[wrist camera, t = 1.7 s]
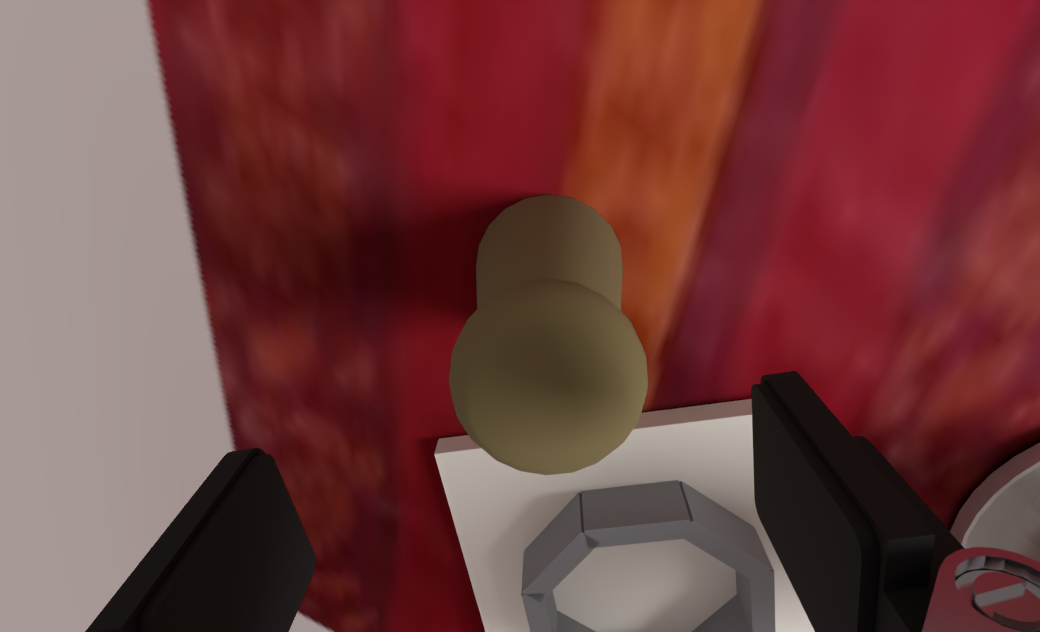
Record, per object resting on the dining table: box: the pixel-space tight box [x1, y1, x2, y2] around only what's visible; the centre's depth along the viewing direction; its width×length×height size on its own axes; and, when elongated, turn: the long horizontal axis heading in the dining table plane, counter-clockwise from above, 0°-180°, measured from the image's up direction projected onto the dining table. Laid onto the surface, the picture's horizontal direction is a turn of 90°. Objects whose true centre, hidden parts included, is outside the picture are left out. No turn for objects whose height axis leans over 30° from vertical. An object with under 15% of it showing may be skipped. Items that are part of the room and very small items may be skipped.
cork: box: [449, 194, 648, 475], centre depth 19 cm, size 6×6×11 cm
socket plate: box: [434, 399, 815, 632], centre depth 28 cm, size 17×17×4 cm
